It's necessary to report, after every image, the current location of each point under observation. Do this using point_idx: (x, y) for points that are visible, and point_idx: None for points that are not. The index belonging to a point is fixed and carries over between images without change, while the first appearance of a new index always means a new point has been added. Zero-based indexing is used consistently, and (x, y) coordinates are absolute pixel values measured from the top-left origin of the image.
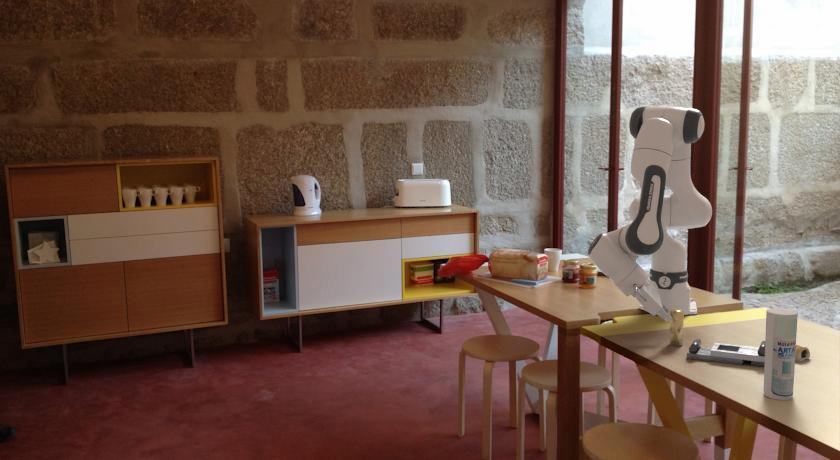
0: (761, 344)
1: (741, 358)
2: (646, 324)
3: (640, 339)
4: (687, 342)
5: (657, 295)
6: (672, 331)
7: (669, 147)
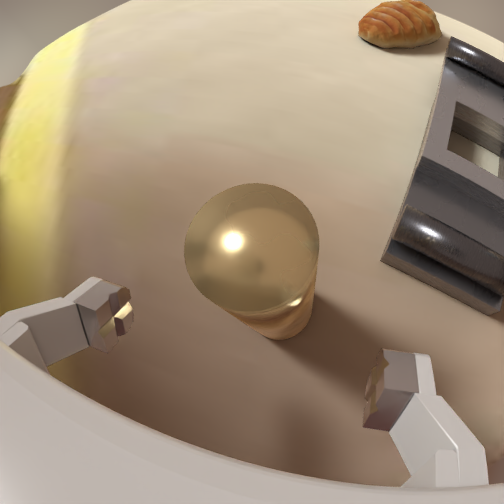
0: (488, 59)
1: None
2: None
3: None
4: None
5: (44, 441)
6: (296, 324)
7: None
